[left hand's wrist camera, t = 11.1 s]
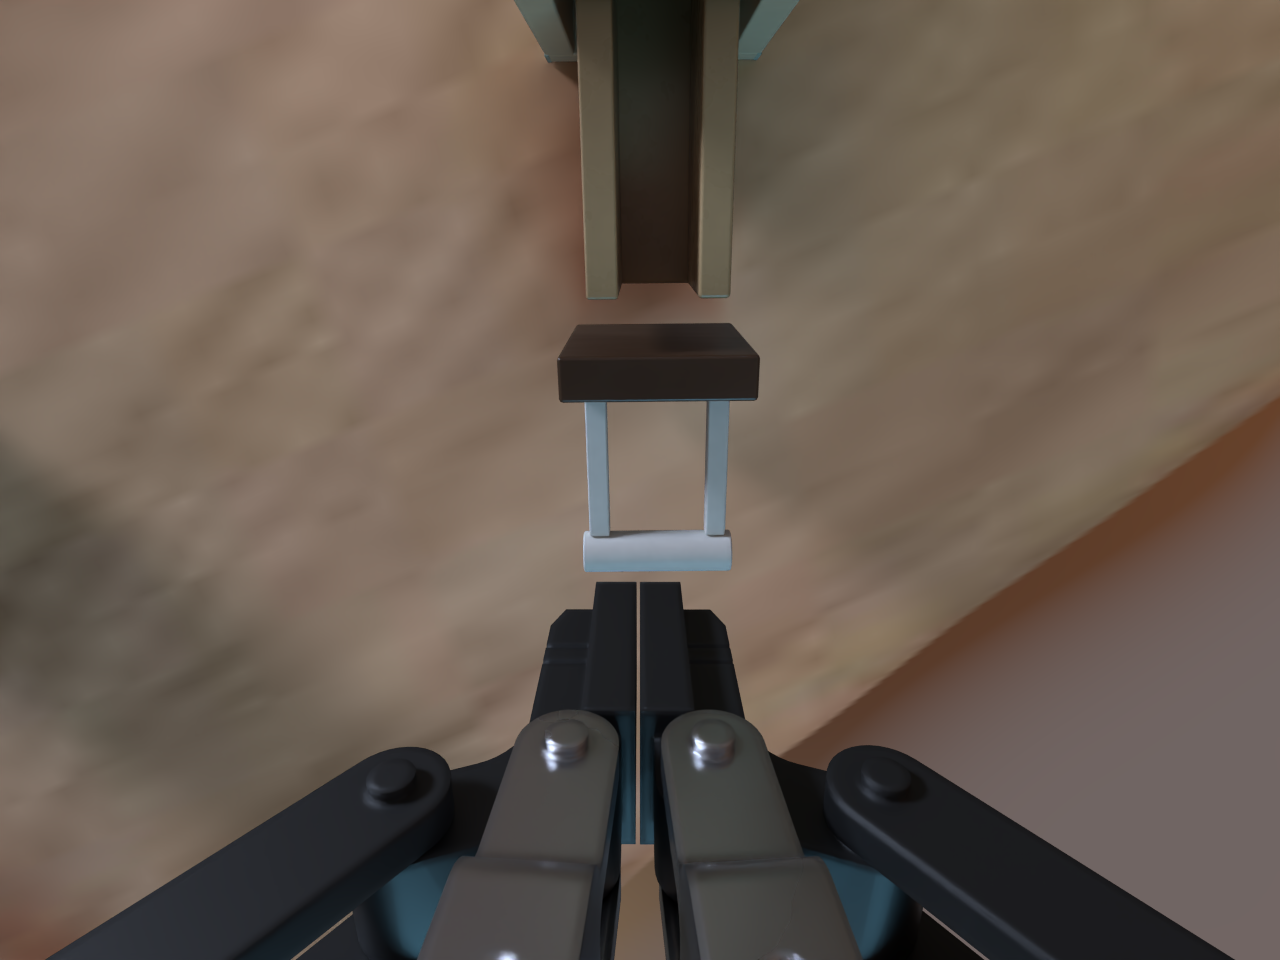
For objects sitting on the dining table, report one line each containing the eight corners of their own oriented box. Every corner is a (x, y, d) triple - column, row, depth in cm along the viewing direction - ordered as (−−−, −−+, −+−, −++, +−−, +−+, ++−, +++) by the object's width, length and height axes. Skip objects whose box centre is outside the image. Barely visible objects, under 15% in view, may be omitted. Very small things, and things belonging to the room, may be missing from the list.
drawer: (725, 517, 26) (748, 599, 20) (584, 519, 26) (569, 601, 20) (752, -276, 18) (802, -494, 12) (551, -273, 18) (512, -491, 12)
